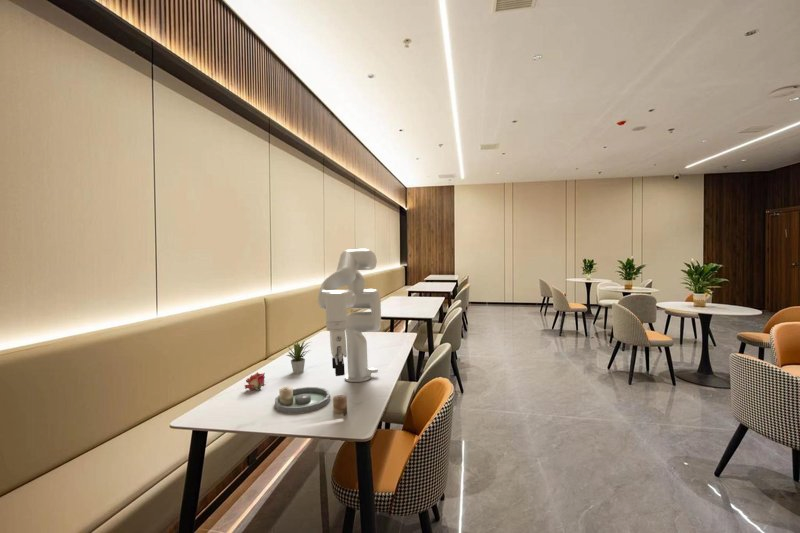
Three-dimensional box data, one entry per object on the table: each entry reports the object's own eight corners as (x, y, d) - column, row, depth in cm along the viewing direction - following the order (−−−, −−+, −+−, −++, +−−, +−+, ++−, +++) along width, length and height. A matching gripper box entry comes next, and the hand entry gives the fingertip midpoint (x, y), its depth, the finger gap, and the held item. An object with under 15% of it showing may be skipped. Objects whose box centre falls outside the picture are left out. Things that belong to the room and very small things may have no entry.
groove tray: (327, 391, 156) (327, 384, 156) (332, 410, 135) (332, 402, 135) (276, 398, 150) (276, 391, 150) (273, 419, 130) (273, 411, 129)
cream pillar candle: (293, 400, 144) (292, 385, 144) (293, 405, 139) (292, 390, 139) (280, 402, 142) (279, 387, 142) (279, 407, 138) (279, 392, 137)
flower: (274, 384, 161) (267, 368, 164) (260, 387, 153) (253, 370, 155) (258, 395, 163) (252, 379, 166) (243, 399, 155) (237, 382, 157)
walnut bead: (346, 409, 136) (345, 394, 136) (348, 415, 131) (347, 399, 131) (332, 411, 135) (332, 396, 134) (334, 417, 130) (333, 401, 130)
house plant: (320, 369, 186) (319, 338, 185) (300, 378, 174) (298, 344, 174) (301, 366, 193) (300, 336, 193) (280, 373, 182) (279, 341, 181)
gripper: (350, 328, 125) (352, 377, 125) (343, 321, 141) (345, 364, 141) (328, 330, 122) (330, 380, 123) (324, 322, 139) (326, 366, 139)
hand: (338, 371), depth 132 cm, fingers open, 9 cm apart
